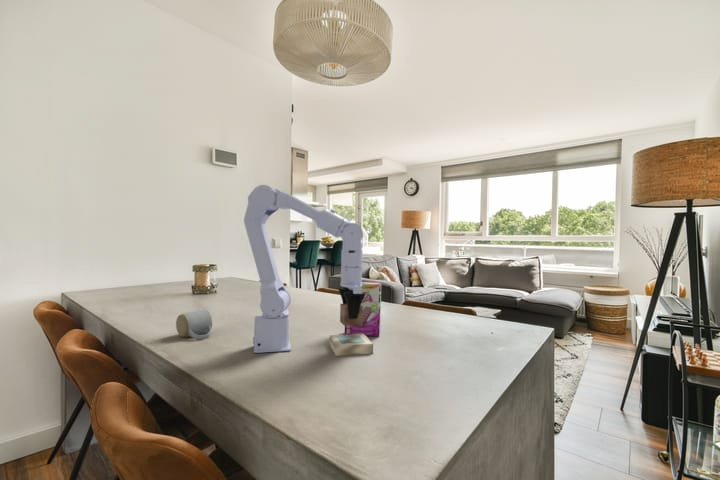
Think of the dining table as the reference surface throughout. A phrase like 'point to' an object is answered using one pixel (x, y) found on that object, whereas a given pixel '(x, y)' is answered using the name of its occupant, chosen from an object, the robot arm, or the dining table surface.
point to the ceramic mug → (195, 324)
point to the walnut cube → (345, 317)
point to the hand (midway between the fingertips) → (350, 316)
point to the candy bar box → (369, 312)
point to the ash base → (350, 344)
